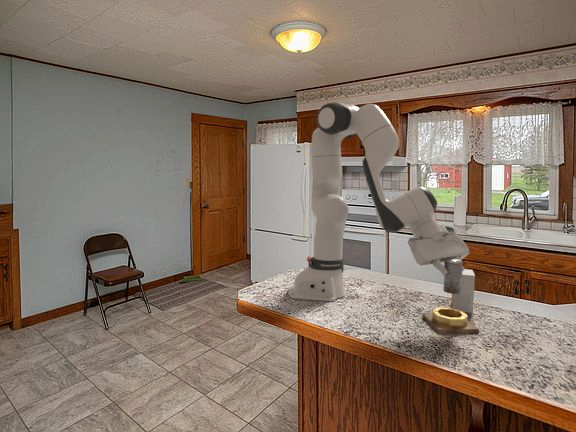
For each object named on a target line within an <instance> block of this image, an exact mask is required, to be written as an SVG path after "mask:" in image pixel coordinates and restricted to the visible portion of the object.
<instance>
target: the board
mask: <svg viewBox="0 0 576 432" xmlns="http://www.w3.org/2000/svg"><path fill="white" fill-rule="evenodd" d="M422 318H423V319H424V321H426V323H427V324H429V325H430V327H432V328H433V329H434V330H435V331H436V332H437V333H438V334H480V328H479V327H477V326H476V325H474V324H473V323H472V322H471V321H470V320H468V319H467V324H466V325H465V326H464V327H448V326H444V325H441V324H437V323H436V322H435V321H434V320H433V319H432V313H422ZM450 318H452V317H450Z"/></svg>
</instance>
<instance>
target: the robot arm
mask: <svg viewBox="0 0 576 432" xmlns="http://www.w3.org/2000/svg"><path fill="white" fill-rule="evenodd" d="M316 124H317V128H316V129H315V130H313V132H312V137H311V138H312V139H311V145H310V146H311V147H310V148H311V149H310V151H311V152H310V156H311V157H310V158H311V174H312V176H311V177H312V184H311V210H312V213H313V215H314V216H315V217H316V226H315V231H314V232H315V233H314V236H313V256H311V255H310V256H307V257H306V261H307V262H308V267H306V268H305V269H303V270H301V271H300V272H299V273H298V274H297V275H296V276H295V278H294V282H293V285H290V286H289V287H288V290H287V291H288V292H287V294H288V296H289V297H290V298H291V299H293V300H305V301H307V300H308V301H321V302H322V301H323V302H334V301H335V300H337V299H340V298H344V297H345V296H346V294H347V292H346V288H345V285H344V284H345V282H344V274H343V273H344V267H345V261H344V257H343V252H344V251H343V250H344V249H343V246H344V234H345V228H346V222H347V217H348V216H349V209H350V208H349V205H348V204H347V201H346V200H345V199H344V198H343V197H342V196H340V191H341V181H342V178H343V173H342V172H343V171H342V168H343V167H342V152H341V151H342V149H341V145H342V141H343V140H344V139H346V140H348V139H350V138H352V137H354V136H358V137H359V139H360V141H361V144H362V145H363V147H364V151H365V156H364V157H363V159H362V167H363V168H362V169H363V173H364V175H365V180H366V183H367V187H368V189H369V193H370V196H371V199H372V202H373V204H374V207H375V213H376V219H377V223H378V224H379V225H380V227H381V228H382V229H383V231H385V232H387V233H388V232H389V233H394V234H396V233H397V232H399V231H401V230H403V229H405V227H409V229H410V230H411V233H412V236H413V237H409V239H408V241H407V244H408V247H409V248H410V251H411V252H410V253H411V254H412V255H413V258H414V260H415V262H416V263H417V264H418V265H419V266H428V265H432V266H433V267H434V268H435V269H437V270H438V271H440V273H441V274H442V276H444V275H447V274H448V273H450V271H449V270H448V268H447V267H444V264H442V263H444V262H445V259H449V258H453V259H459V260H464V259H465V258H466V257H467V256H468V255H470V249H469V247H468V246H467V244H466V242H464V240H463V239H462V238H461V236H459V235H458V234H457V230H456V228H455V227H453V226H448V225H444V224H441V223H439V221H438V220H437V219H436V218H434V216H433V214H435V213H436V212H435V211H436V209H437V206H438V201H437V199H436V197H435V195H433V193H432V192H431V191H430V189H429V188H427V187H424V186H416V187H413V188H412V189H410V190H408V191H405V192H404V193H402V194H400V195H398V196H396V197H393V198H392V199H387V198H386V195H385V191H384V189H383V186H382V182H381V179H380V173H381V172H382V171H383V169H384V168H385V166H387V164H388V163H389V162H390V161H391V160H392V159H393V158H394V156H395V155H396V154H397V151H398V149H399V146H400V138H399V136H398V133H397V131H396V129H395V127H394V126H393V124H392V122H391V121H390V120H389V118H388V117H387V115H386V114H385V113H384V111H383V110H382V109H381V108H380V107H379V106H378V105H377V104H374V103H368V104H367V103H366V104H365V105H362V106H359V105H357V104H356V105H355V104H351V103H347V102H343V103H341V102H329V103H325V104H324V105H322V106H321V107H320V108H319V109H318V112H317V115H316ZM464 269H465V267H464V265H463V266H462V271H464Z"/></svg>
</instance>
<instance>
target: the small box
mask: <svg viewBox="0 0 576 432" xmlns="http://www.w3.org/2000/svg"><path fill="white" fill-rule="evenodd" d="M475 280H476V275H475V272H474V271H473V269H469V268H467V269H466V268H464V271H462V288H461V293H460V294H451V306H452V307H451V308H452V309H456V310H460V311H462V312H464V313H470V314H471V313H472V314H473V312H474V302H475V301H474V298H475V283H476V282H475Z"/></svg>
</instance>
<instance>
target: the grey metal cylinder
mask: <svg viewBox="0 0 576 432" xmlns="http://www.w3.org/2000/svg"><path fill="white" fill-rule="evenodd" d="M443 263H444V264H443V266H444V267H447V268H448V270H449V271H450V273H448V274H447V275H443V288H442V291H443V292H445V293H447V294H451V295H452V294H460V293H461V288H462V266H463V267H464V265H463V259H461V260H459V259H453V258H449V259H445V262H443Z"/></svg>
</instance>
